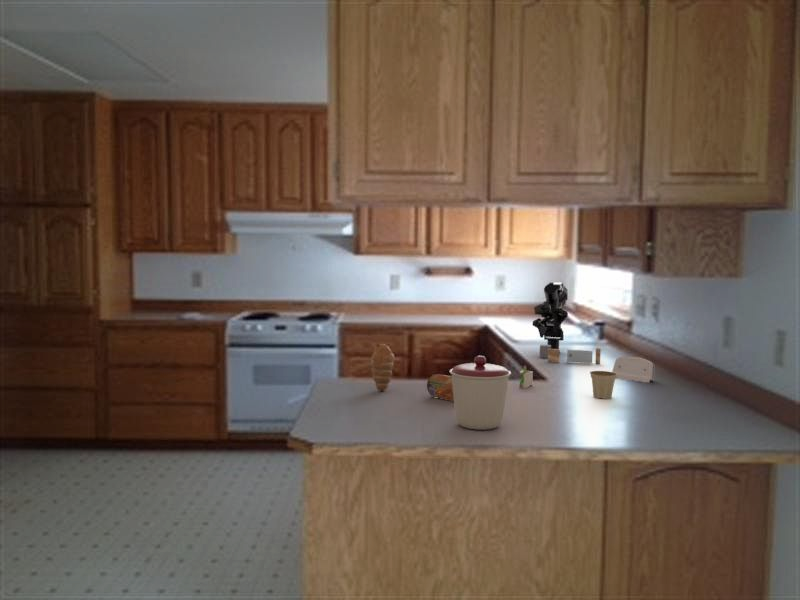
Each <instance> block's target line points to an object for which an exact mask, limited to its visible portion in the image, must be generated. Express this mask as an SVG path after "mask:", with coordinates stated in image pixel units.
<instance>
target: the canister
mask: <svg viewBox="0 0 800 600" xmlns="http://www.w3.org/2000/svg"><path fill="white" fill-rule="evenodd" d="M473 361H474V362H469V363H467V362H466V363H461V364H457V365H455V366H453V368H451V369H449V370H448V371H449V374H450V375H451V376H452V386H453V397H454V401H453V404H454V413H455V419H456V421H457V424H458V425H459V426H460V427H463V428H464V429H465V428H466V429H469V430H475V431H477V430H478V431H487V430H493V429H496V428H498V427H499V426H500V425H501V423H502V421H503V417H504V411H505V405H506V398H507V391H508V384H509V383H508V382H509V377H510V376H511V375H512V372H511V370H508V369H507V368H506V367H504V366H502V365H498V364H493V363H487V358H486V357H485V356H484V355H477V356H475V357H474V359H473Z"/></svg>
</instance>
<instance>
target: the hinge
mask: <svg viewBox="0 0 800 600" xmlns="http://www.w3.org/2000/svg"><path fill="white" fill-rule="evenodd" d="M611 372H614V373H617V376H616V379H618V378H621V379H620V380H625V379H627V381H632V380H634V382H639V381H643V382H642V383H646V382H649V383H650V382H654V381H655V364H654V363H653V362H652V361H650V360H647V359H645V358H643V357H639V356H638V357H637V356H622V357H617V358H616V359H615V361H614V366H613V368H612V371H611Z"/></svg>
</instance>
